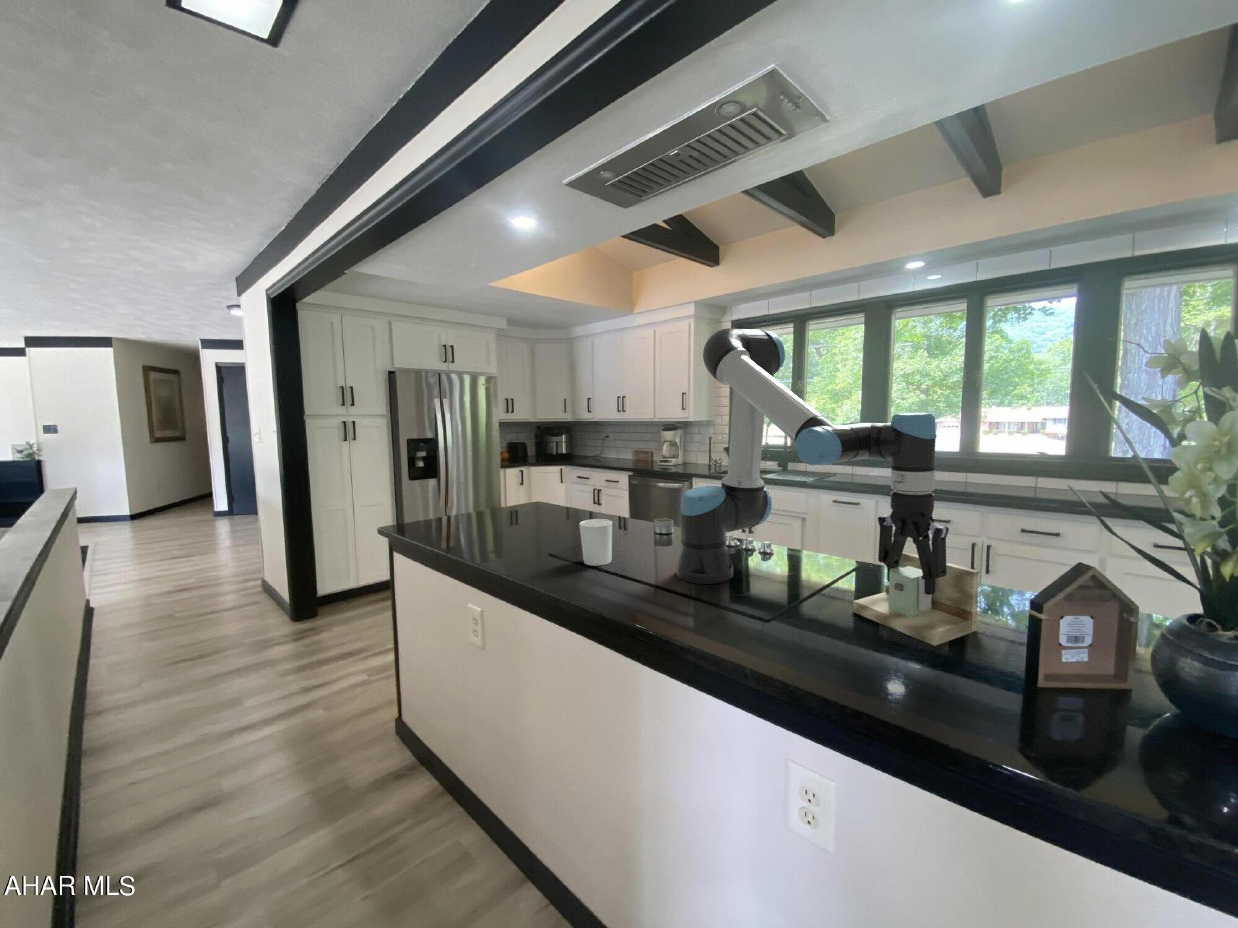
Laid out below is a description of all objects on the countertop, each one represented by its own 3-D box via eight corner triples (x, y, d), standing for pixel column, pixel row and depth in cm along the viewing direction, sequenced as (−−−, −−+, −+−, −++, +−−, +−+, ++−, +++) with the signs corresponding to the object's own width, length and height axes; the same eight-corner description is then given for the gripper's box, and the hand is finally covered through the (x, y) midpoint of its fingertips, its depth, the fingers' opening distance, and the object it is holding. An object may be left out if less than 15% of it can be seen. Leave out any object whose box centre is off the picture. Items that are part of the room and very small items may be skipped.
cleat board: (853, 612, 111) (853, 557, 110) (892, 600, 116) (893, 548, 115) (934, 645, 95) (936, 582, 94) (976, 630, 100) (978, 570, 99)
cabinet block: (885, 609, 106) (886, 571, 105) (908, 602, 109) (909, 566, 108) (908, 618, 101) (909, 578, 100) (931, 611, 104) (932, 572, 103)
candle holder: (577, 566, 151) (575, 526, 150) (585, 556, 161) (583, 518, 159) (610, 566, 150) (608, 526, 148) (616, 556, 159) (614, 518, 158)
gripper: (859, 487, 109) (858, 592, 112) (946, 500, 92) (943, 624, 95) (883, 483, 112) (882, 586, 115) (972, 495, 95) (968, 615, 98)
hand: (909, 603), depth 105 cm, fingers open, 6 cm apart
